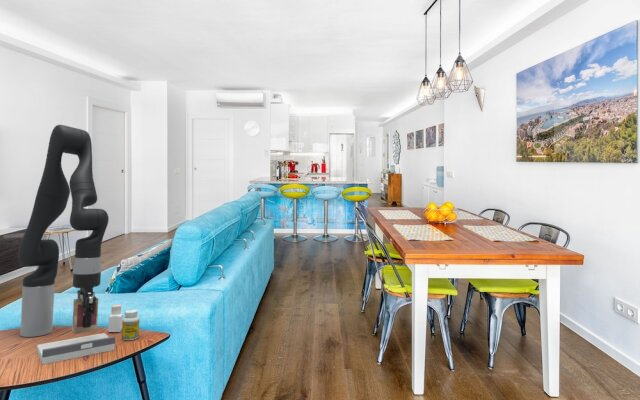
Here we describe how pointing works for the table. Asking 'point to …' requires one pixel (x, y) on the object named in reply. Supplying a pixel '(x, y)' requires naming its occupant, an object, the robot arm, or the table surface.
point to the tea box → (78, 317)
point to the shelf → (75, 348)
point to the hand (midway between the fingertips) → (85, 325)
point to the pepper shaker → (115, 319)
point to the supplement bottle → (130, 325)
